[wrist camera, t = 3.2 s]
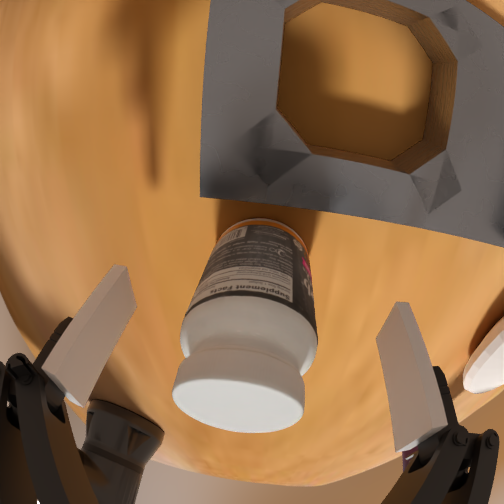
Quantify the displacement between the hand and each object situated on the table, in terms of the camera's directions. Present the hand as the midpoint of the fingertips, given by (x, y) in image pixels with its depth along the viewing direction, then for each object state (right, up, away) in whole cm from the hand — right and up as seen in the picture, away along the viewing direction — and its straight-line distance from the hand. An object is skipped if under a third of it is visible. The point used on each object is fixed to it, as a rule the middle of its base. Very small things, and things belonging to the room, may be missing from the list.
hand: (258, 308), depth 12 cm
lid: (+29, -6, +6) cm, 30 cm away
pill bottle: (0, +2, +4) cm, 5 cm away
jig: (+9, +11, -2) cm, 14 cm away
